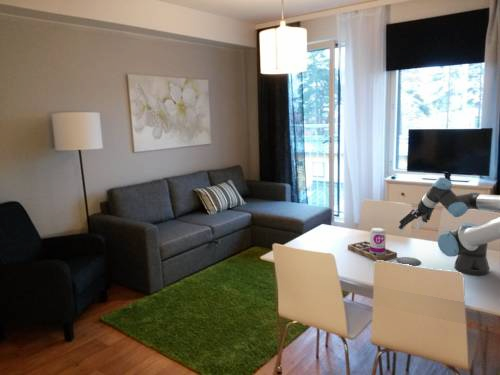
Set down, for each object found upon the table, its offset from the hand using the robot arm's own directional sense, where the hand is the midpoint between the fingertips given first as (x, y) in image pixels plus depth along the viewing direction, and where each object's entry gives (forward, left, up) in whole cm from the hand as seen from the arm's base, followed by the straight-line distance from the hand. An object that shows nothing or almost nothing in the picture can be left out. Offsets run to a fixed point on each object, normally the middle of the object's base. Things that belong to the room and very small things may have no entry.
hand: (407, 230), depth 213 cm
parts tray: (+14, +12, -15) cm, 24 cm away
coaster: (-6, +5, -15) cm, 17 cm away
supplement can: (+10, +12, -15) cm, 22 cm away
